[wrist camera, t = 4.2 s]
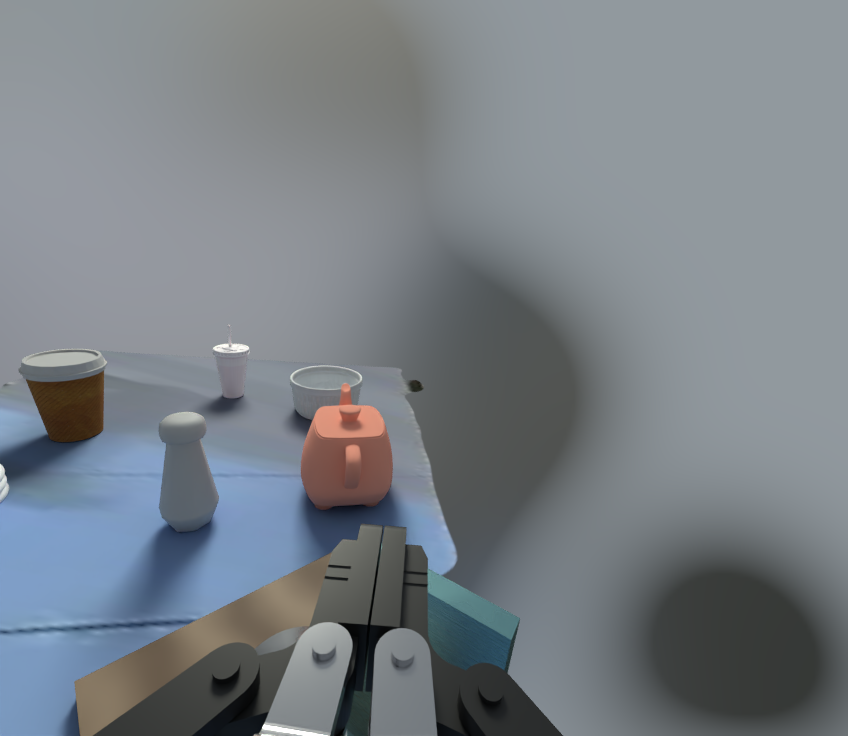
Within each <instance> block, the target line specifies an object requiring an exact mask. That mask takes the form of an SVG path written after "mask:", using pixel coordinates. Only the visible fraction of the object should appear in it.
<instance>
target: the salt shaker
mask: <svg viewBox="0 0 848 736" xmlns="http://www.w3.org/2000/svg"><path fill="white" fill-rule="evenodd" d="M205 433H206V422H205V419H204V418H203V416H201V415H200V414H197V413H194V412H180V413H175V414H171V415H169V416H167V417H165V418H164V419H163V420H162V421H161V423H160V424H159V435H160V438H161V440H162V442H164V443H166V451H165V460H164V469H163V478H162V487H161V496H160V504H159V509H160V512H161V515H162V518H163V519H164V520H165V521H166V522H167V523H169V524H170V525H171V526H172V527H173V528H174V529H175V530H176V532H187V531H196V530H198V529H199V528H201V527H202V526H204V525H205V524H207V523H209V522H210V520H211V518H212V516H213V514H214V512H215V509H216V507H217V504H218V501H219V495H218V492H217V489H216V486H215V483H214V480H213V477H212V474H211V471H210V468H209V465H208V462H207V458H206V455H205V452H204V448H203V445H202V442H201V438H203V437H204V435H205Z"/></svg>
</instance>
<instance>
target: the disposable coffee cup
mask: <svg viewBox="0 0 848 736" xmlns="http://www.w3.org/2000/svg"><path fill="white" fill-rule="evenodd" d="M106 365H107V361H106V360H105V359H104V358H103V356H102V354H101V353H100V352H98V351H95V350H89V349H60V350H52V351H45V352H40V353H36V354H32V355H29V356H27V357H25V358H23V359H22V363H21V367H20V368H19V373H20V374H21V375H22V376H23V377H24V378H25V379H26V381H27V383H28V386H29V388H30V391H31V393H32V396H33V398H34V401H35V403H36V406H37V408H38V411H39V413H40V415H41V418H42V420H43V423H44V425H45V428H46V430H47V433H48V435H49V438H50V439H51V440H53V441H56V442H74V441H79V440H84V439H87V438H90V437H93V436H95V435H97V434H99V433H100V432H101V431H102V430H103V406H104V370H105V366H106Z"/></svg>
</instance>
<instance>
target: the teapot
mask: <svg viewBox="0 0 848 736" xmlns="http://www.w3.org/2000/svg"><path fill="white" fill-rule="evenodd" d="M392 471H393V463H392V451H391V445H390V441H389V437H388V433H387V430H386V426H385V423H384V421H383V418H382V416H381V415H380V413H379V412H378V411H377V410H376V409H375V408H374V407H372V406H359V405H352V400H351V388H350V386H349V384H347V383H344V384H343V385H342V387H341V397H340V402H339V406H323V407H321V408H319V409H318V410H317V412H316V414H315V416H314V418H313V421H312V423H311V426H310V429H309V431H308V434H307V437H306V440H305V444H304V447H303V453H302V460H301V478H302V482H303V485H304V488H305V490H306V492H307V495H308V497H309V498H310V500H311V501H312V502H313V503H314V505H315V507H316V508H317V509H320V510H327V509H330V508H331V507H332V506H347V505H359V504H363V505H365V506H375V505H377V504H378V503H379V501H381V500H382V499H383V498H384V497H385V496H386V494H387V492H388V491H389V488H390V486H391V482H392Z"/></svg>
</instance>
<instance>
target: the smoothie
mask: <svg viewBox="0 0 848 736" xmlns="http://www.w3.org/2000/svg"><path fill="white" fill-rule="evenodd" d="M249 353H250V352H249V347H248V346H246V345H242V344H232V340H231V325H228V344H222V345H218V346H215V347H214V348H213V354H214V355H215V358H216V363H217V368H218V373H219V378H220V382H221V387H222V392H223V396H224V397H225V398H239V397H241V396H243V395H244V386H245V376H246V366H247V356H248V354H249Z"/></svg>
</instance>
